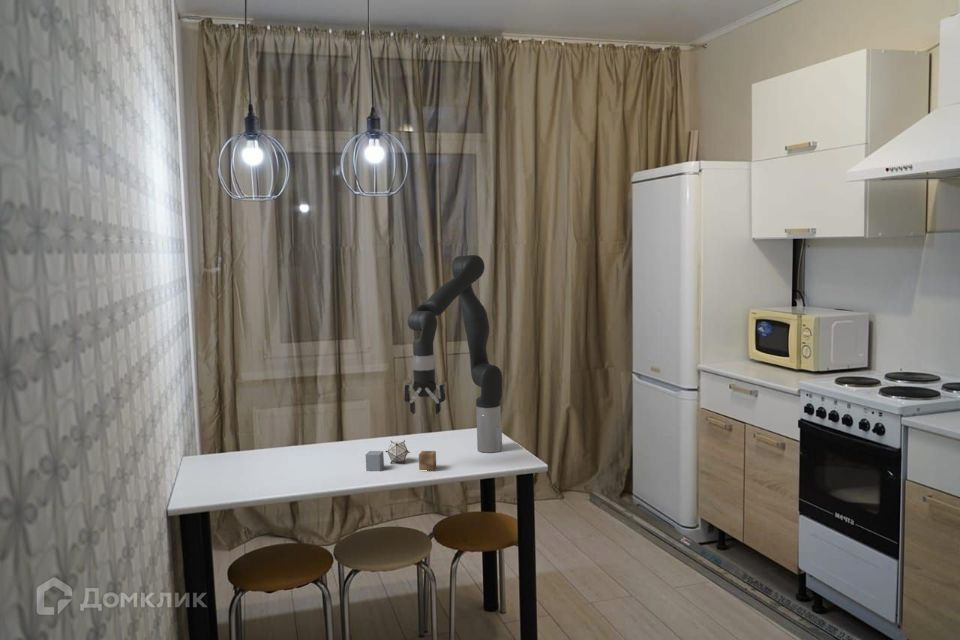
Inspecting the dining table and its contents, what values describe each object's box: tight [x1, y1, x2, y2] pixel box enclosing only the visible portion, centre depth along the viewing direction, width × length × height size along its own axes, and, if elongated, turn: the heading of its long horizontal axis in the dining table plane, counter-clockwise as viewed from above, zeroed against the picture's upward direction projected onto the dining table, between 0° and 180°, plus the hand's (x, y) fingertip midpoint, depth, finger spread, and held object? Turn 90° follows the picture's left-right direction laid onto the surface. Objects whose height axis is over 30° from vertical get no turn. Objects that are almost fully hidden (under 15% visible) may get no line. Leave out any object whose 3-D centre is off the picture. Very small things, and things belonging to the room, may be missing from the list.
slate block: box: [365, 450, 385, 472], centre depth 269 cm, size 5×5×6 cm
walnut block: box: [418, 450, 437, 472], centre depth 267 cm, size 5×5×6 cm
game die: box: [384, 439, 411, 464], centre depth 276 cm, size 9×8×10 cm
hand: (425, 413), depth 265 cm, fingers open, 8 cm apart
